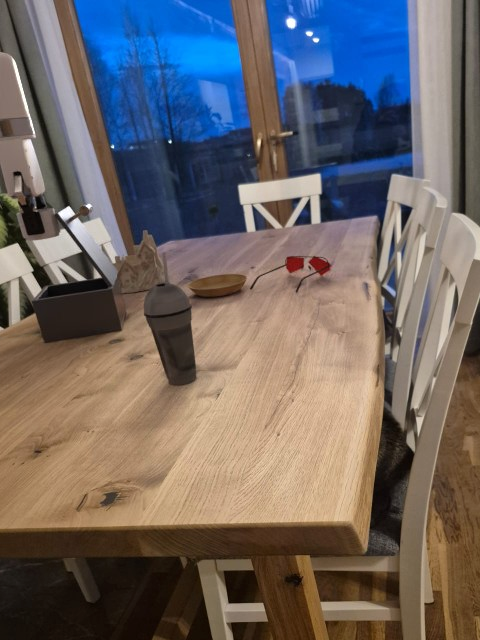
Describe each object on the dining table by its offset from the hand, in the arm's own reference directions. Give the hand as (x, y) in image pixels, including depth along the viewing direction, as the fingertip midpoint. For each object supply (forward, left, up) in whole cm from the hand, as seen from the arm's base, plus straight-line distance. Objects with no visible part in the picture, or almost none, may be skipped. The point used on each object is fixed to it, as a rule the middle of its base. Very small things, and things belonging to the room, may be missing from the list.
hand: (40, 230), depth 113 cm
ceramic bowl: (0, 0, -1) cm, 1 cm away
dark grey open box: (+3, +5, -22) cm, 22 cm away
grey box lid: (+7, +5, -5) cm, 10 cm away
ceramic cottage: (+13, +40, -22) cm, 47 cm away
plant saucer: (+33, +19, -22) cm, 44 cm away
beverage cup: (+23, -36, -22) cm, 48 cm away
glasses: (+51, +16, -22) cm, 58 cm away
